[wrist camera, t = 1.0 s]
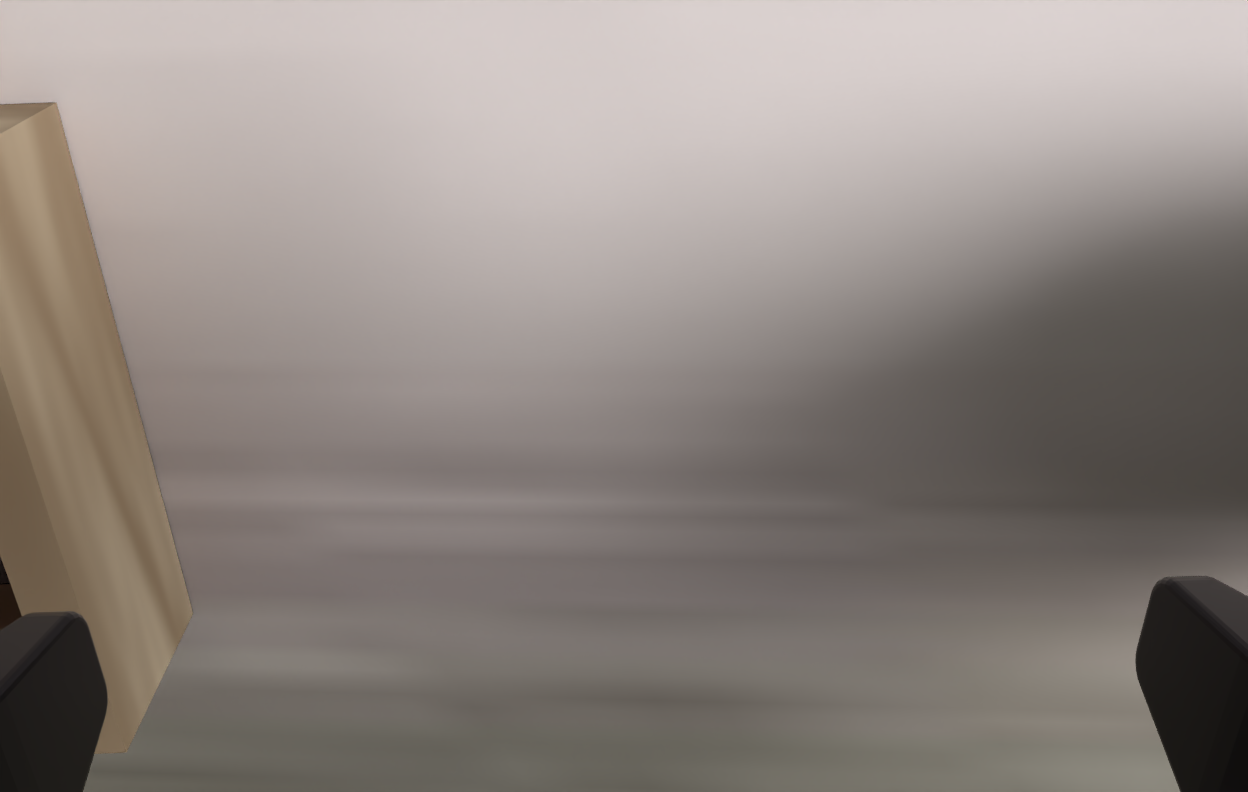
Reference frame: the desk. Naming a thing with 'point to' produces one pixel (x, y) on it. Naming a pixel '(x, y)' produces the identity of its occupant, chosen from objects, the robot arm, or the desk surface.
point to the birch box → (76, 435)
